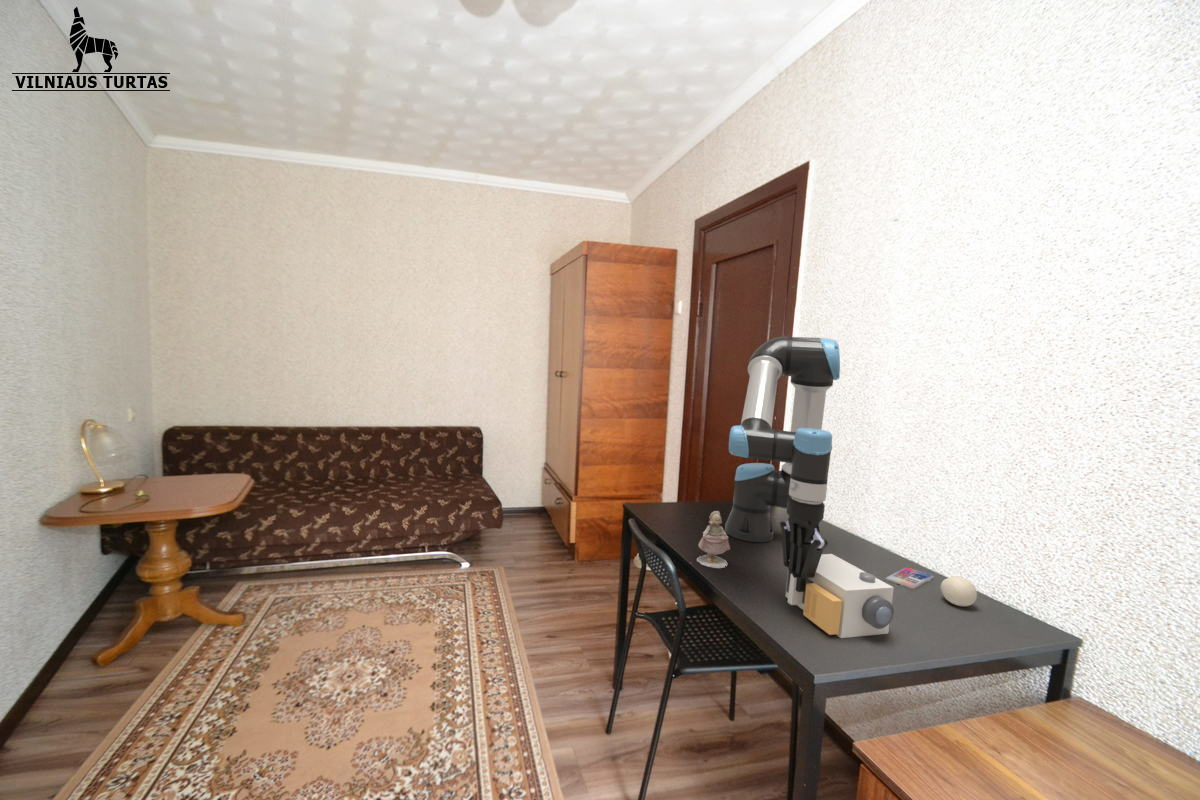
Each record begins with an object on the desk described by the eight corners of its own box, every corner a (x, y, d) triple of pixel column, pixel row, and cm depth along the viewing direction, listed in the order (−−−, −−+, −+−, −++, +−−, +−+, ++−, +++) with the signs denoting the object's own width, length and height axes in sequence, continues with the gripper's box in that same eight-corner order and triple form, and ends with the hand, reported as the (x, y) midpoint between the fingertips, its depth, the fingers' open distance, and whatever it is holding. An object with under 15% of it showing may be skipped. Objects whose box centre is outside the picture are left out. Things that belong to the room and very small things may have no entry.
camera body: (784, 596, 118) (789, 551, 117) (827, 593, 121) (832, 549, 120) (849, 645, 98) (855, 591, 97) (898, 640, 101) (905, 588, 100)
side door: (803, 614, 108) (806, 583, 107) (811, 614, 108) (815, 583, 108) (829, 634, 100) (832, 601, 99) (838, 633, 100) (842, 600, 100)
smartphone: (883, 577, 132) (905, 566, 142) (883, 581, 133) (905, 569, 142) (914, 587, 127) (935, 575, 136) (913, 591, 127) (935, 579, 136)
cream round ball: (950, 595, 125) (953, 570, 125) (981, 609, 118) (985, 582, 118) (931, 598, 123) (935, 572, 122) (962, 612, 116) (965, 585, 115)
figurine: (708, 571, 127) (701, 512, 131) (684, 569, 136) (678, 513, 139) (739, 566, 133) (732, 509, 136) (714, 563, 141) (708, 510, 144)
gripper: (773, 491, 113) (763, 590, 115) (811, 508, 101) (799, 619, 103) (801, 491, 115) (790, 589, 117) (842, 508, 103) (829, 617, 105)
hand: (794, 603), depth 110 cm, fingers closed
